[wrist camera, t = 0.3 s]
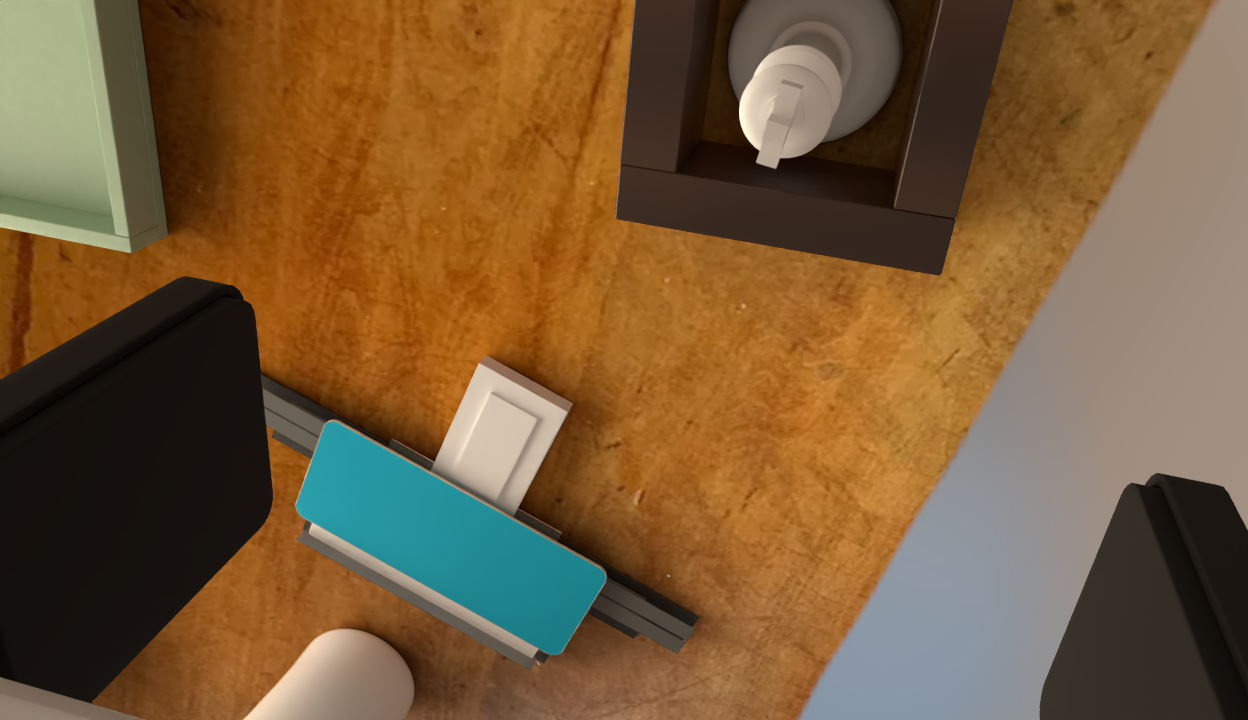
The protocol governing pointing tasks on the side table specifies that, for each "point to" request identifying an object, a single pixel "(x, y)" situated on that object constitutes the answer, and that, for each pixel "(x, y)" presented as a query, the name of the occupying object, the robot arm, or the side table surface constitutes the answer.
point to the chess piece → (811, 70)
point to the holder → (803, 186)
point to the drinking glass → (341, 682)
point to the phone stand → (463, 521)
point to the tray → (78, 124)
